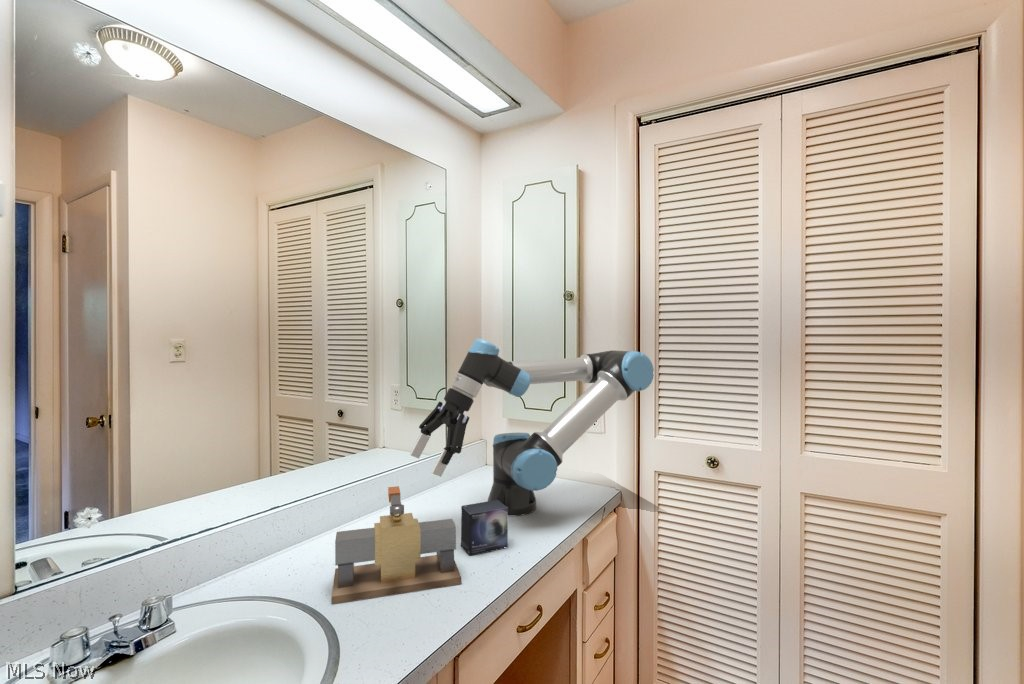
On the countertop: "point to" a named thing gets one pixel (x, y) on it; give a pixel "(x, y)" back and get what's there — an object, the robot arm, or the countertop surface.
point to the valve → (395, 547)
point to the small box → (484, 527)
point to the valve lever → (395, 501)
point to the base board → (371, 586)
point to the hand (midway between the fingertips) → (424, 465)
